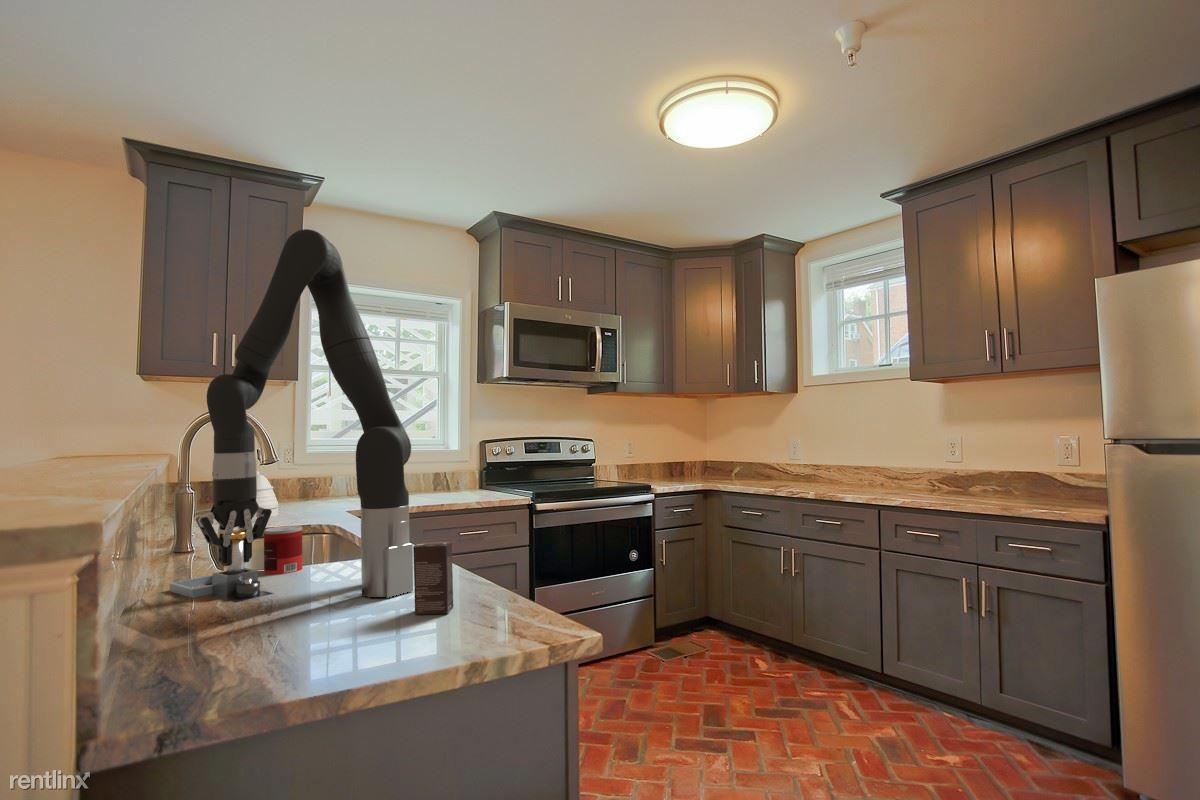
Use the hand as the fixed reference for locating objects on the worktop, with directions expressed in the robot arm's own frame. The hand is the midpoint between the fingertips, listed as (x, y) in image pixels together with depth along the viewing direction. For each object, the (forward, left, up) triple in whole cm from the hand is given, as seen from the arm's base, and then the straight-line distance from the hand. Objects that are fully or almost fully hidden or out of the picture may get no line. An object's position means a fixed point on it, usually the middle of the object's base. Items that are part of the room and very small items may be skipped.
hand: (235, 563), depth 123 cm
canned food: (+11, -15, -7) cm, 20 cm away
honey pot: (+122, -66, -8) cm, 139 cm away
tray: (+9, +2, -7) cm, 12 cm away
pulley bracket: (-2, 0, -7) cm, 8 cm away
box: (-41, -14, -7) cm, 44 cm away
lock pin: (0, 0, -5) cm, 5 cm away
